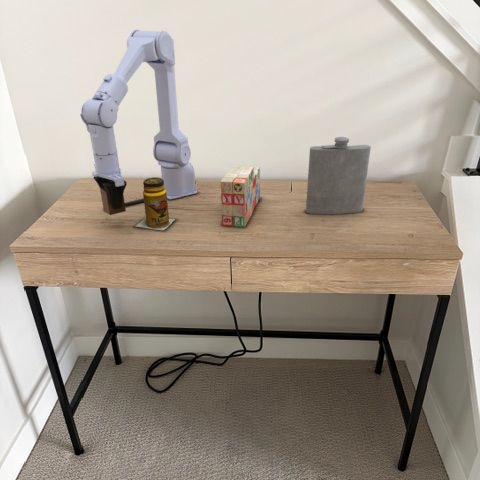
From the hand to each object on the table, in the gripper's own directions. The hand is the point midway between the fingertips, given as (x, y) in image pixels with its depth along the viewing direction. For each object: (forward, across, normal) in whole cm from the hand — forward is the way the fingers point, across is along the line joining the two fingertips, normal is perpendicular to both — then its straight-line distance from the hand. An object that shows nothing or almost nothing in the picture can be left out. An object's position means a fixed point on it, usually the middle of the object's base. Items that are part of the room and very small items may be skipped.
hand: (113, 205), depth 131 cm
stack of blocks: (+6, +10, +33) cm, 35 cm away
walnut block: (+1, 0, 0) cm, 1 cm away
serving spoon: (+6, -12, +9) cm, 16 cm away
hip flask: (+6, +26, +54) cm, 60 cm away
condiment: (+6, +4, +9) cm, 12 cm away
